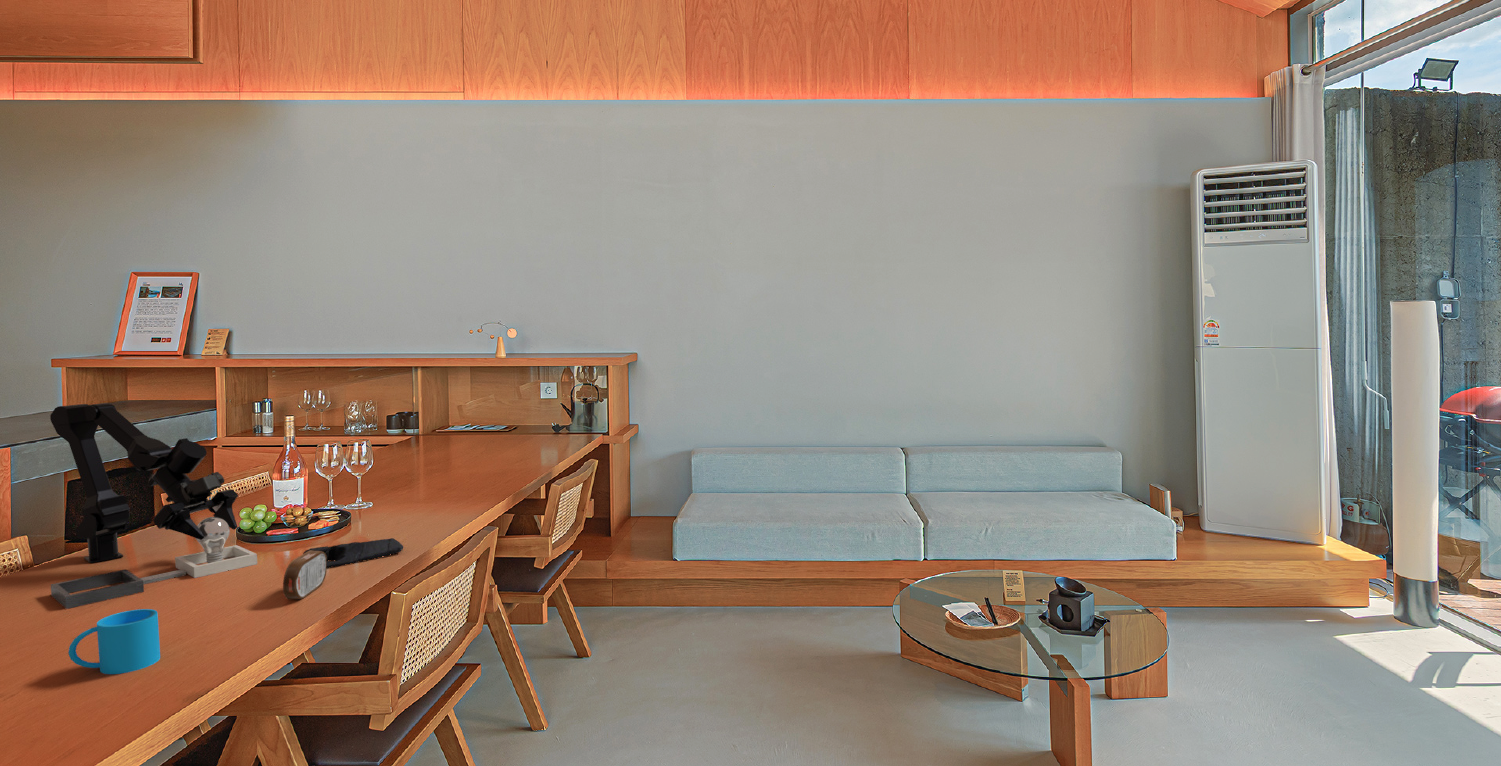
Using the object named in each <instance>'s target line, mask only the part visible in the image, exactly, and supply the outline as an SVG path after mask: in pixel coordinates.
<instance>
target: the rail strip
mask: <svg viewBox="0 0 1501 766" xmlns="http://www.w3.org/2000/svg"><path fill="white" fill-rule="evenodd" d="M186 575H187V573H186V572H185V571H183V570H182V569H181V570H179V569H177V570H173V571H169V572H164V573H159V574H153V575H149V576H143V577H139V578H140V579H142V580H143V585H148V584H152V583H156V581H157V582H160V581H165V580H171V579H175V578H174V577H176V578H180V577H184V576H185V577H186ZM170 578H171V579H170Z"/></svg>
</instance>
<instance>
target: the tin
mask: <svg viewBox="0 0 1501 766" xmlns="http://www.w3.org/2000/svg"><path fill="white" fill-rule="evenodd" d="M303 553H304V552H303ZM303 553H302V554H301V555H300V556H297V557H295V558H294V559H293V560H291V561H290V563H289V564H288V565H287V567H286V569H285V572H284V575H283V581H282V590H283V591H282V592H283V595H284V597H285V598H286V599H287V600H302V599H305V598H306V597H308V596H309V595H310V594H312V593H313V592H315V591H316V590H317V589H319V588H320V587H321V586H322V585H323V583H324V581H325V579H326V577H327V568H326V566H327V562H328V561H327V557H326V554H325V553H324V552H322V551H313V550H310V551H308V552H306V553H304V554H303Z"/></svg>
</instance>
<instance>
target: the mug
mask: <svg viewBox="0 0 1501 766" xmlns="http://www.w3.org/2000/svg"><path fill="white" fill-rule="evenodd" d="M158 613H159V612H158V610H156V609H151V608H144V609H143V608H138V609H133V610H126V611H121V612H118V613H113V614H110V615H108V616H104V617H103V618H101V619H99V620H98V621H97V622H96V626H94V627H91V628H89V629H87V630H85V631H83V632H81V633H80V634H78V635H77V636H76V637H75V638H74V639H73V640H72V642H71V643H70V645H69V646H68V655H69V658H70V660H71V661H72V662H73V663H75V665H78V666H81V667H83V668H89V669H98V668H99V672H100V673H102V674H103V675H120V674H127V673H128V674H129V673H131V672H135V671H139V670H142V669H145V668H148V667H150V666H152V665H155V664H156V663H157V662H159V660H160V659H161V646H160V645H161V643H160V631H159V617H158V616H159V615H158ZM93 633H97V634H96V635H97V648H98V659H99V662H92V661H91V662H90V661H86V660H84V659H82V658H81V657H79V656H78V653H77V647H78V645H79V643H80V642H81V641H82V640H83V639H84V638H85V637H87V636H89V635H91V634H93Z"/></svg>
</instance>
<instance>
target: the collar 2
mask: <svg viewBox="0 0 1501 766" xmlns="http://www.w3.org/2000/svg"><path fill="white" fill-rule="evenodd" d="M222 553H223V555H222V556H223V557H222V558H223V560H221V561H216V562H212V563H207V560H206V558H207V557H206V556H207V555H206V554H205V552H204V551H201V552H196V553H190V554H185V555H180V556H175V557H174V562H175V563H174V564H175V568H176V569H177V570H181V569H182V570H183V571H185V572H186V575H189V576H190V577H192V578H194V579H197V578H201V577H205V576H211V575H215V574H219V573H224V572H228V570H229V571H232V570H237V569H242V568H246V567H250V566H255V565H258V554H257V553H256V552H253V551H250V550H249V549H247V548H244V547H242V546H239V545H237V544H235V545H230V546H224V549H223V551H222Z"/></svg>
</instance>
